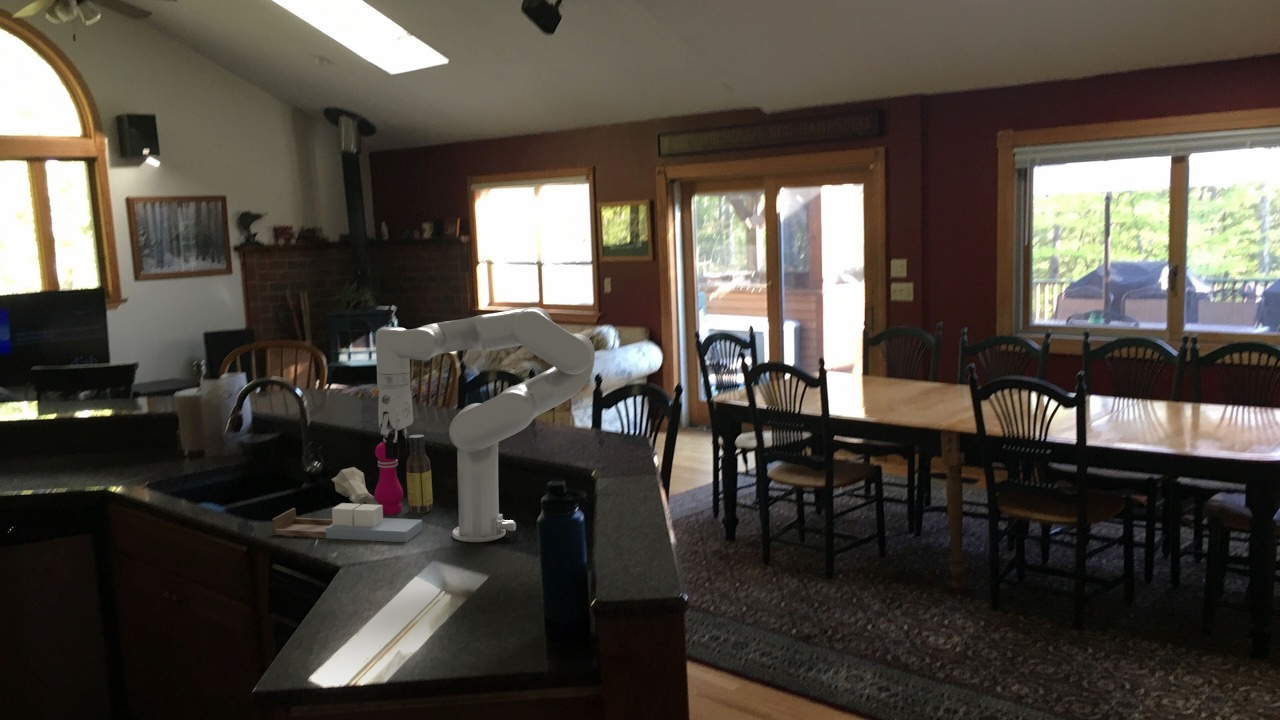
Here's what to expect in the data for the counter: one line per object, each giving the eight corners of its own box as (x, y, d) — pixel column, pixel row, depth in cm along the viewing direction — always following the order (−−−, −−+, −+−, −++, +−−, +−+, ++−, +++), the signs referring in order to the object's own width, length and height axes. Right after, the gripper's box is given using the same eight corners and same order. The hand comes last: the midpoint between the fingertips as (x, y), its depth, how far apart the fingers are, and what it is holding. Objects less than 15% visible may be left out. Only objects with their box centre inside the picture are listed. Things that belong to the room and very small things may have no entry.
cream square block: (361, 520, 238) (361, 503, 238) (352, 525, 233) (351, 509, 233) (342, 519, 239) (341, 503, 239) (332, 524, 234) (332, 508, 234)
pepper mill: (395, 516, 251) (393, 439, 248) (369, 514, 252) (367, 438, 250) (408, 508, 258) (406, 433, 255) (382, 507, 259) (380, 432, 257)
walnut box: (345, 526, 242) (344, 510, 241) (326, 538, 232) (325, 521, 232) (294, 523, 244) (293, 507, 244) (272, 535, 234) (272, 519, 234)
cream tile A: (383, 521, 237) (382, 504, 237) (374, 526, 233) (373, 510, 232) (363, 520, 238) (363, 504, 238) (354, 526, 233) (353, 509, 233)
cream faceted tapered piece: (366, 488, 276) (388, 514, 254) (337, 499, 272) (356, 527, 251) (357, 459, 273) (378, 483, 251) (327, 471, 270) (345, 496, 248)
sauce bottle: (430, 506, 260) (428, 432, 257) (434, 512, 254) (432, 437, 251) (406, 508, 257) (403, 434, 255) (409, 515, 252) (406, 438, 249)
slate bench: (422, 529, 239) (422, 519, 238) (406, 542, 229) (406, 531, 229) (345, 526, 242) (345, 516, 242) (326, 538, 232) (325, 527, 232)
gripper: (394, 385, 221) (397, 465, 223) (422, 375, 238) (424, 449, 240) (363, 384, 222) (366, 464, 225) (393, 374, 239) (395, 448, 241)
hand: (396, 456), depth 232 cm, fingers open, 3 cm apart
